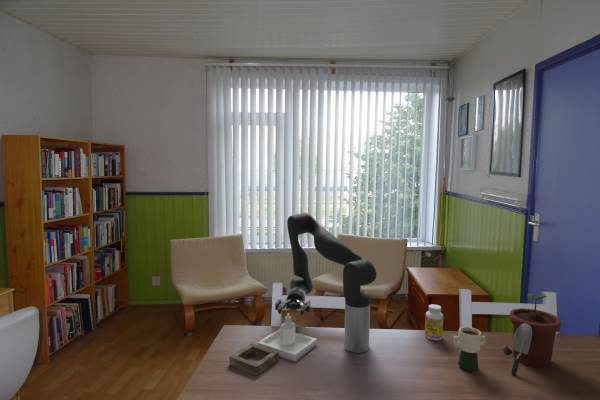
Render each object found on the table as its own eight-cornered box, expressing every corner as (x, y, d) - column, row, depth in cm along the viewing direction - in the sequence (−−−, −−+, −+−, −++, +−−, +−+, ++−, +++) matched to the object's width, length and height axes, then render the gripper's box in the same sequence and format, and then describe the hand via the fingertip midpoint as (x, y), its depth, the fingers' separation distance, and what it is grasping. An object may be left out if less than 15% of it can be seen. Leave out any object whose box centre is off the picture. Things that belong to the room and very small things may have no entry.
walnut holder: (251, 351, 147) (251, 343, 147) (278, 360, 141) (278, 352, 140) (229, 365, 137) (229, 356, 137) (256, 375, 131) (256, 366, 130)
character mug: (479, 362, 140) (481, 326, 139) (488, 373, 133) (491, 335, 132) (448, 362, 140) (449, 326, 139) (456, 373, 133) (458, 335, 132)
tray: (280, 334, 162) (280, 328, 161) (316, 344, 152) (316, 338, 152) (257, 348, 149) (257, 342, 149) (295, 361, 140) (295, 354, 140)
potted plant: (573, 372, 134) (579, 300, 131) (512, 376, 131) (517, 302, 129) (536, 347, 151) (540, 283, 149) (482, 350, 149) (486, 285, 146)
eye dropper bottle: (294, 347, 149) (295, 316, 147) (279, 346, 149) (280, 315, 147) (295, 341, 153) (296, 311, 151) (280, 340, 153) (281, 310, 152)
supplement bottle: (421, 337, 160) (422, 306, 158) (430, 332, 164) (431, 302, 163) (437, 342, 155) (438, 310, 154) (445, 337, 159) (446, 306, 158)
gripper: (280, 288, 174) (272, 302, 158) (312, 290, 172) (308, 304, 156) (280, 305, 174) (272, 320, 158) (312, 307, 173) (308, 322, 157)
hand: (290, 312), depth 157 cm, fingers open, 8 cm apart
